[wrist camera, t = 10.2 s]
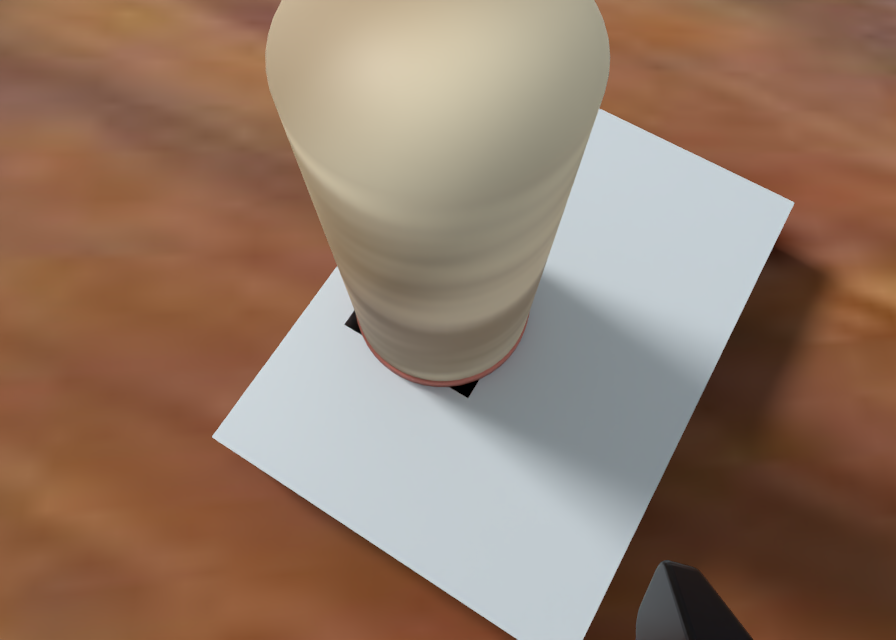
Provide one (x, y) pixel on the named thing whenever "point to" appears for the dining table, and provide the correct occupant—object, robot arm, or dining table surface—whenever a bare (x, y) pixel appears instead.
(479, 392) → the grey board
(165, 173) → the dining table surface
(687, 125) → the dining table surface
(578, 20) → the maple leg
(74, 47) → the dining table surface
